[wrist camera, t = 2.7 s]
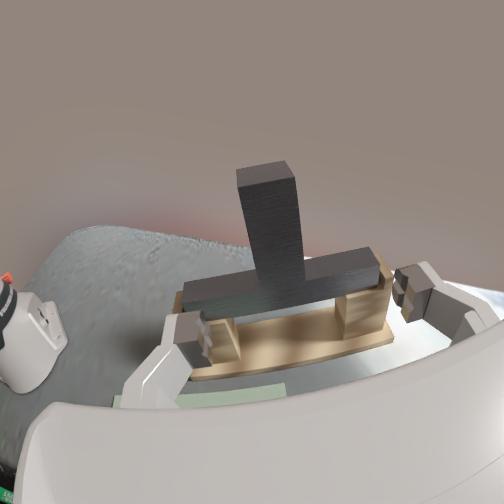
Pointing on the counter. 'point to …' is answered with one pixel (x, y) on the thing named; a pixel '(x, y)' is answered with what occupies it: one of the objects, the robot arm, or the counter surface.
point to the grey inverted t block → (278, 256)
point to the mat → (225, 397)
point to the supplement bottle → (7, 484)
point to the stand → (300, 334)
